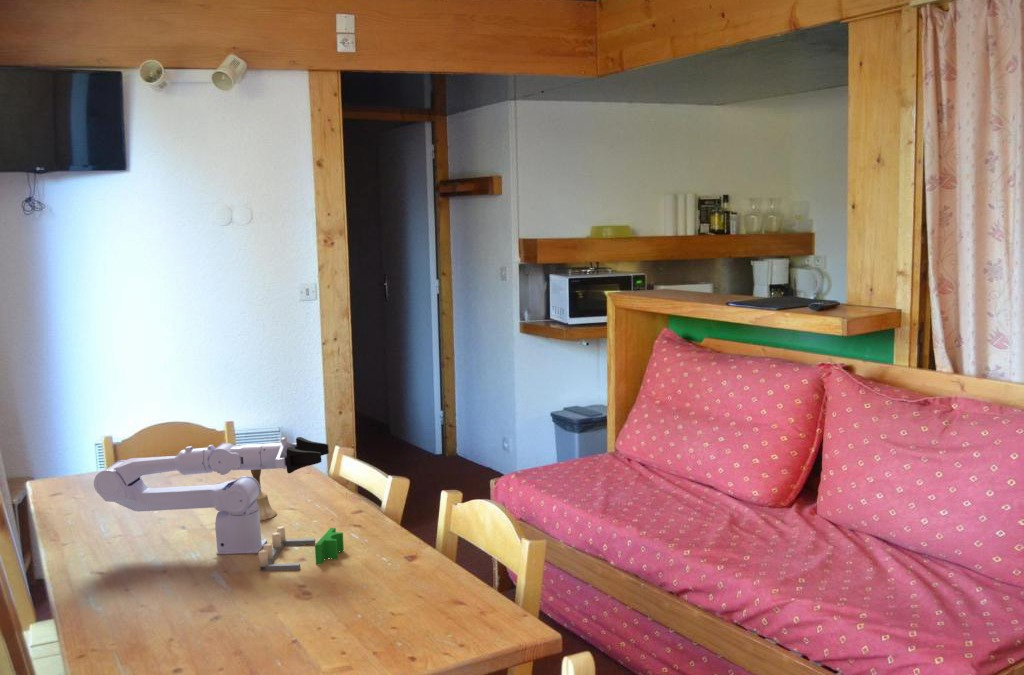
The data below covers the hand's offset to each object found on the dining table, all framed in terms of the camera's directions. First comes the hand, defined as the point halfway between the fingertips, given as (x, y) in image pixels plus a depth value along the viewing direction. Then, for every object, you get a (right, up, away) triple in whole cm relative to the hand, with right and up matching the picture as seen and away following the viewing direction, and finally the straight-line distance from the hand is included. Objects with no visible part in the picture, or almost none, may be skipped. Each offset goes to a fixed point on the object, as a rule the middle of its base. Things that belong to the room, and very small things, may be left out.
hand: (324, 453), depth 216 cm
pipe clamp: (+2, -23, -3) cm, 23 cm away
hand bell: (-21, -19, +26) cm, 39 cm away
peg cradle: (-7, -22, -3) cm, 24 cm away
